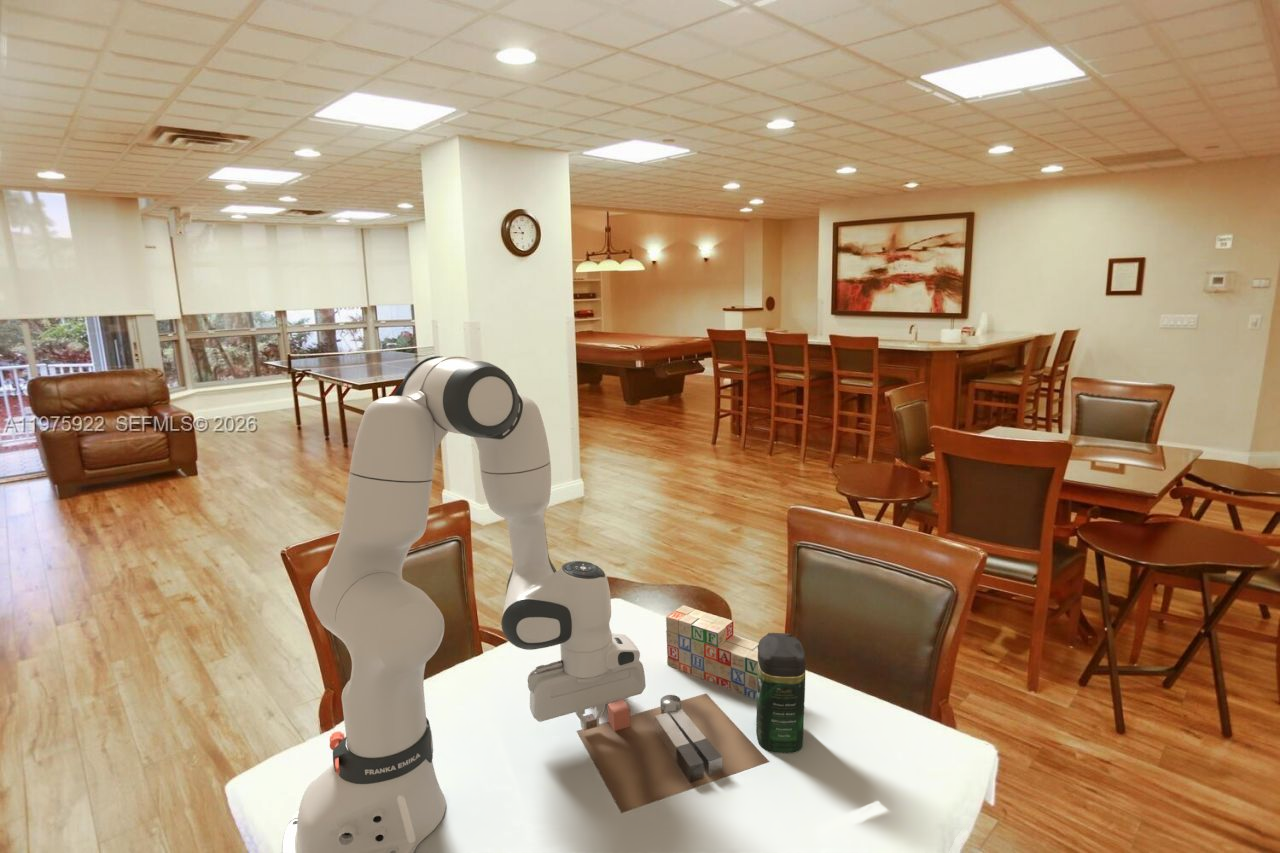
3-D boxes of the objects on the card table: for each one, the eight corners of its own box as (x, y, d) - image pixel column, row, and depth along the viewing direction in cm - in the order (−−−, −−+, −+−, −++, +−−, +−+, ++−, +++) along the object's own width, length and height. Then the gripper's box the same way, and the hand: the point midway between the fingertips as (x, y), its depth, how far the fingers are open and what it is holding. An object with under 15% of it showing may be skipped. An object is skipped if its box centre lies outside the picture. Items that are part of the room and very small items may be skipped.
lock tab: (614, 731, 120) (613, 713, 119) (608, 721, 122) (607, 703, 122) (630, 726, 121) (629, 708, 120) (623, 716, 123) (623, 699, 123)
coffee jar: (806, 760, 113) (809, 658, 109) (758, 758, 114) (759, 656, 110) (799, 723, 122) (801, 628, 119) (754, 722, 123) (755, 627, 119)
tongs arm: (689, 782, 107) (689, 762, 106) (646, 717, 123) (646, 700, 122) (722, 772, 109) (722, 753, 108) (675, 710, 125) (675, 693, 124)
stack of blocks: (774, 692, 132) (775, 633, 130) (758, 707, 128) (759, 647, 125) (683, 657, 145) (683, 603, 143) (666, 670, 141) (665, 615, 138)
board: (621, 819, 101) (621, 812, 101) (576, 736, 120) (576, 730, 120) (769, 767, 111) (769, 761, 111) (706, 699, 130) (706, 693, 130)
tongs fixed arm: (708, 777, 108) (708, 761, 107) (669, 726, 120) (669, 711, 120) (721, 772, 109) (721, 756, 108) (681, 723, 121) (681, 708, 121)
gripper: (532, 679, 109) (536, 755, 112) (648, 649, 117) (650, 721, 120) (522, 660, 115) (527, 732, 118) (633, 633, 123) (635, 702, 126)
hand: (590, 726), depth 119 cm, fingers closed
